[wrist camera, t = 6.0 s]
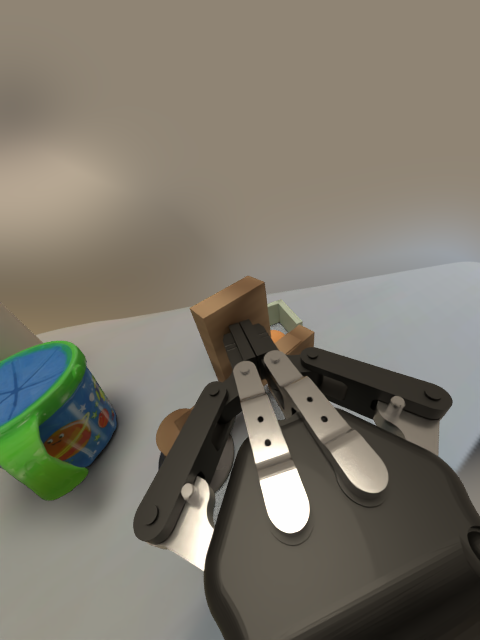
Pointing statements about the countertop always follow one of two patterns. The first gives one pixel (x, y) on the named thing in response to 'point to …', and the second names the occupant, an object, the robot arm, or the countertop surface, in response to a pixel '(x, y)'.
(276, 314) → the sage green c-shaped clamp
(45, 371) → the snack cup
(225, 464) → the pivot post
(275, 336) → the ball
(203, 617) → the countertop surface
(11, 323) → the cylinder vase
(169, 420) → the lever
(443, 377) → the countertop surface
